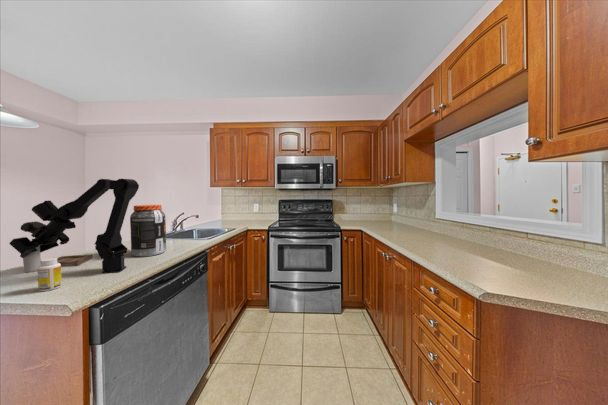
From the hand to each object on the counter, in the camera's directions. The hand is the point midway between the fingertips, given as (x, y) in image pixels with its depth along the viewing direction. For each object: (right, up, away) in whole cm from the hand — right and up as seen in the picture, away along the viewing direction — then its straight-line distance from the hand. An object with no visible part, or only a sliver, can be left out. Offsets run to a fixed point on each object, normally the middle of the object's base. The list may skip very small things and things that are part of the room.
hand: (28, 255), depth 99 cm
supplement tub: (+31, -6, +29) cm, 43 cm away
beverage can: (+1, -7, 0) cm, 7 cm away
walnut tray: (+6, -6, +12) cm, 14 cm away
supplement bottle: (+27, -8, -17) cm, 33 cm away
